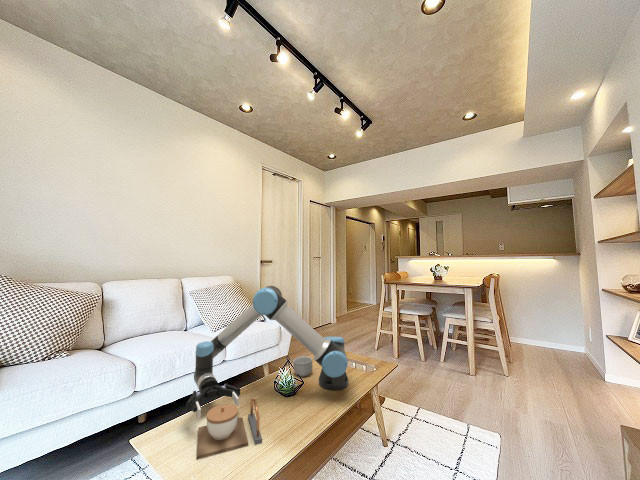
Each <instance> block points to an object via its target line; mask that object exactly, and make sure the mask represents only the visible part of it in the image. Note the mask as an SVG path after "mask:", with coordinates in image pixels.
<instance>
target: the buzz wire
mask: <svg viewBox="0 0 640 480" xmlns="http://www.w3.org/2000/svg"><path fill="white" fill-rule="evenodd" d="M257 401H258V400H257V399H256V398H255V397H254V396H251V397H250V410H249V411H250V413H249V414H251V415H253V413H254V410H255V417H256V421H257V429H256V436H257V437H258V436H259V430H260V412H259V407H258V402H257Z"/></svg>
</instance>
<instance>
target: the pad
mask: <svg viewBox="0 0 640 480" xmlns="http://www.w3.org/2000/svg"><path fill="white" fill-rule="evenodd" d="M197 429H198V430H197V444H196V445H197V447H196V449H197V451H196V460H200V459H204V458H208V457H210V456H215V455H219V454H222V453H223V454H224V453H226V452H229V451H233V450H237V449H241V448H245V447H247V446H249V440H248V436H247V435H248V434H247V432H246V426H245V422H244V418H243V416H242V417H238V418H237V424H236V427H235V429H234V430H233V432H232V433H231V435H230V436H229V437H227V438H226V439H223V440H216V439H214V438H213V437H212V436H211V435H210V434H209V432H208V429H207V425H204V426H199V427H197Z"/></svg>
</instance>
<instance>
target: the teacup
mask: <svg viewBox="0 0 640 480" xmlns="http://www.w3.org/2000/svg"><path fill="white" fill-rule="evenodd" d="M292 363H293V372H294V374H295V375H297V374H298V375H299V376H298V375H297V376H298V377H307V376H309V375H310V374H311V373H312V371H313V358H312V357H310V356H306V355H302V356H298V357H296V358H294V359H293V360H292Z"/></svg>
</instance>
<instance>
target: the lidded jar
mask: <svg viewBox="0 0 640 480" xmlns="http://www.w3.org/2000/svg"><path fill="white" fill-rule="evenodd" d="M238 416H239V408H238V406H236V404H232V403H229V404H228V403H226V404H218V405H216V406H214V407H212V408H211V409H209V410H208V411H207V413H206V426H207V429H208V432H209V434H210V435H211V436H212V437H213V438H214V439H216V440H223V439H226V438H227V437H229V436H230V435H231V433H232V432H233V430H234V429H235V427H236V424H237V419H238V418H239V417H238Z"/></svg>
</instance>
